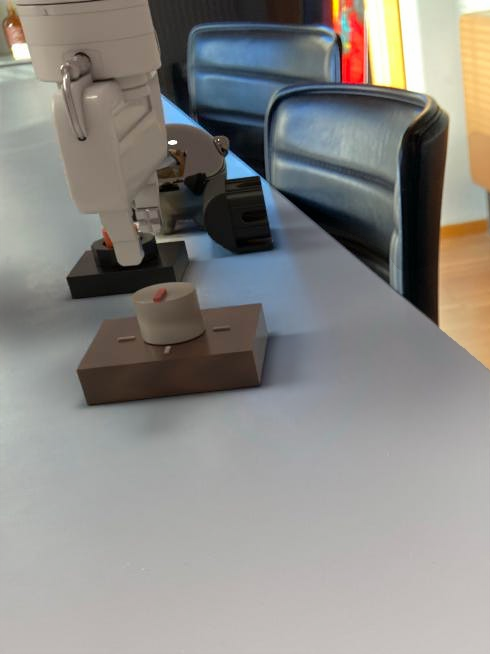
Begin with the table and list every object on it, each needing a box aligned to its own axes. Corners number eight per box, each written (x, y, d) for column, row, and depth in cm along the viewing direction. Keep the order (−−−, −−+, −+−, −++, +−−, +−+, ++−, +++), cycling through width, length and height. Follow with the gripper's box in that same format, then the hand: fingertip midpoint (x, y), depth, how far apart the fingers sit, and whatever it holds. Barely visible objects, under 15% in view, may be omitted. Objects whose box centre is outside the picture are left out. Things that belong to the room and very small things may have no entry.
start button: (103, 251, 107) (98, 233, 106) (109, 241, 110) (105, 224, 109) (138, 247, 107) (133, 230, 106) (143, 238, 110) (138, 221, 109)
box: (72, 298, 106) (60, 259, 104) (91, 270, 114) (80, 233, 112) (178, 287, 107) (168, 248, 104) (189, 260, 115) (180, 223, 112)
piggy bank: (126, 223, 131) (100, 124, 124) (243, 207, 133) (223, 110, 126) (120, 245, 122) (91, 141, 115) (245, 229, 124) (224, 125, 117)
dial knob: (150, 325, 88) (138, 281, 86) (209, 320, 88) (199, 276, 86) (136, 347, 84) (123, 301, 81) (199, 341, 84) (188, 295, 81)
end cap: (211, 236, 122) (197, 175, 118) (269, 228, 123) (258, 168, 119) (211, 258, 115) (196, 195, 111) (274, 250, 115) (262, 186, 111)
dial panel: (87, 405, 82) (75, 367, 81) (113, 352, 92) (103, 317, 90) (259, 385, 83) (251, 348, 81) (268, 335, 93) (261, 300, 91)
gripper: (109, 60, 64) (163, 281, 73) (159, 29, 81) (198, 211, 89) (9, 69, 64) (73, 289, 72) (79, 35, 81) (126, 218, 89)
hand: (143, 246), depth 81 cm, fingers open, 8 cm apart
